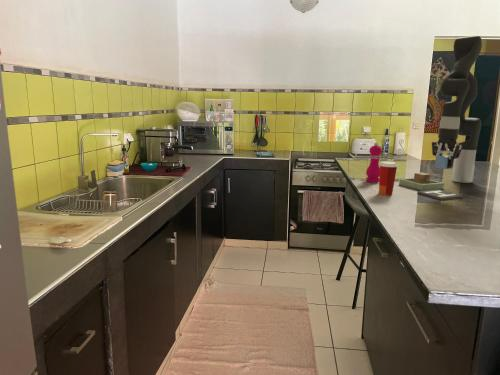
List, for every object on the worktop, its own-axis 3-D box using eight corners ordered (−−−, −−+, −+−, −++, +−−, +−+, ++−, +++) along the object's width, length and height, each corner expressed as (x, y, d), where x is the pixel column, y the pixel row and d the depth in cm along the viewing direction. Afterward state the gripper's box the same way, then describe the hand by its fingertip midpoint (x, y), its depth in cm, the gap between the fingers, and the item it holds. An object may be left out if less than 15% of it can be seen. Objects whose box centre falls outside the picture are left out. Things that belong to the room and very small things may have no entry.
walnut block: (420, 184, 192) (422, 172, 191) (428, 186, 188) (430, 174, 186) (413, 185, 190) (414, 173, 189) (421, 187, 186) (422, 174, 184)
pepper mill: (380, 183, 195) (384, 143, 191) (365, 182, 197) (369, 142, 192) (379, 180, 202) (383, 142, 198) (364, 179, 204) (368, 141, 199)
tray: (419, 183, 198) (420, 177, 197) (443, 189, 186) (443, 183, 185) (398, 184, 192) (399, 179, 192) (421, 191, 180) (422, 184, 179)
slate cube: (442, 166, 172) (444, 155, 171) (452, 168, 168) (454, 157, 167) (434, 167, 170) (436, 155, 169) (444, 169, 166) (445, 157, 165)
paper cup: (394, 192, 175) (397, 162, 172) (394, 196, 168) (398, 164, 165) (376, 191, 177) (379, 160, 174) (375, 194, 170) (378, 163, 167)
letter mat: (437, 191, 180) (438, 189, 180) (463, 198, 169) (463, 195, 168) (417, 193, 175) (417, 191, 175) (441, 200, 163) (442, 198, 163)
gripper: (470, 128, 161) (464, 169, 164) (441, 126, 173) (436, 164, 177) (457, 128, 157) (451, 170, 161) (429, 126, 170) (424, 164, 174)
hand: (443, 166), depth 169 cm, fingers closed on slate cube, 5 cm apart
